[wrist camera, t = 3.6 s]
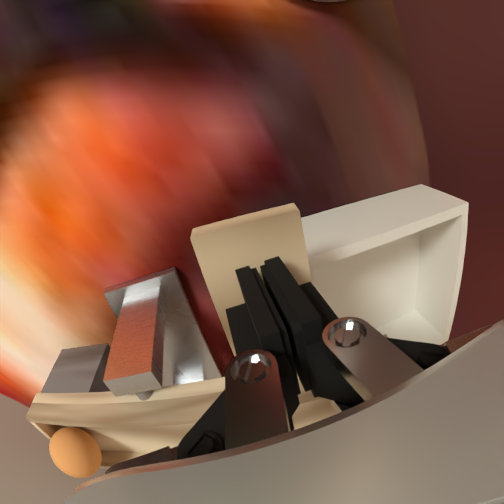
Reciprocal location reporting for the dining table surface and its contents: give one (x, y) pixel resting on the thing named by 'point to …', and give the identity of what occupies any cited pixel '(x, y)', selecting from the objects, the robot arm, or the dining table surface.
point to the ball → (75, 452)
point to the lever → (182, 395)
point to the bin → (392, 261)
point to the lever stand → (155, 337)
